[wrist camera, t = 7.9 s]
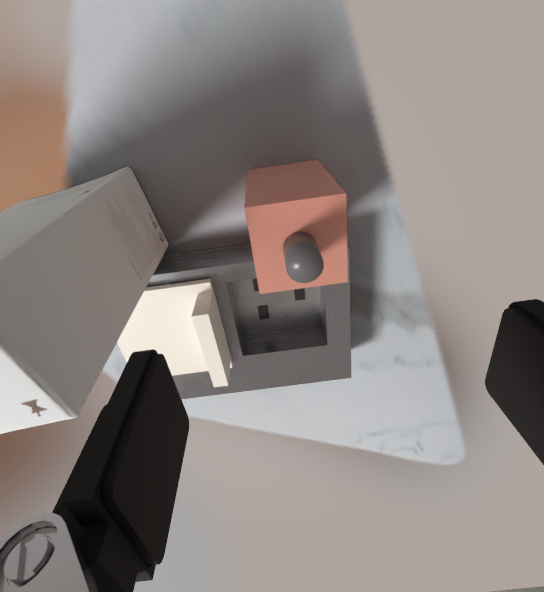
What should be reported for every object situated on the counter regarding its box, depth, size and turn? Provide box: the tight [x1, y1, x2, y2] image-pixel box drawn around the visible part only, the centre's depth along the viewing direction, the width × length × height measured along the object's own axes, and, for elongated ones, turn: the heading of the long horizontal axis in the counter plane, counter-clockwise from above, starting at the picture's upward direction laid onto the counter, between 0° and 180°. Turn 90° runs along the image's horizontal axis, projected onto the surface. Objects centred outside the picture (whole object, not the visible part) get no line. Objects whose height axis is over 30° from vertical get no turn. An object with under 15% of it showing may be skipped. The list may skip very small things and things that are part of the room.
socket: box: [147, 243, 351, 399], centre depth 26 cm, size 12×15×3 cm
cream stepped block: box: [117, 279, 233, 387], centre depth 23 cm, size 8×8×3 cm
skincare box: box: [0, 167, 169, 434], centre depth 17 cm, size 8×6×15 cm
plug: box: [244, 159, 348, 294], centre depth 19 cm, size 4×4×10 cm
